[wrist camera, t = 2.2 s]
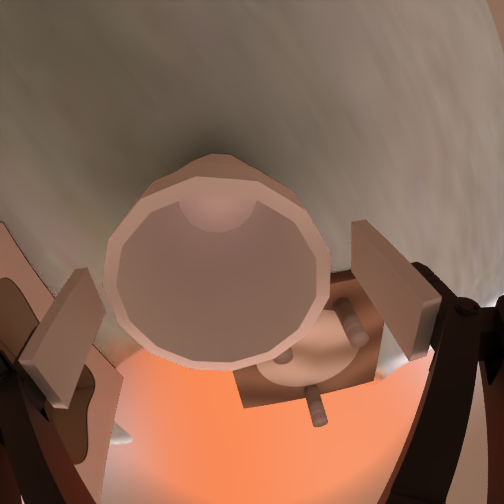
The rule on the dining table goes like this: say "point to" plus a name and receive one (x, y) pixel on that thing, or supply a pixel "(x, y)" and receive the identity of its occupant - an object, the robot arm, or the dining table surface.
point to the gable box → (91, 378)
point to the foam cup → (217, 267)
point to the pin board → (321, 354)
